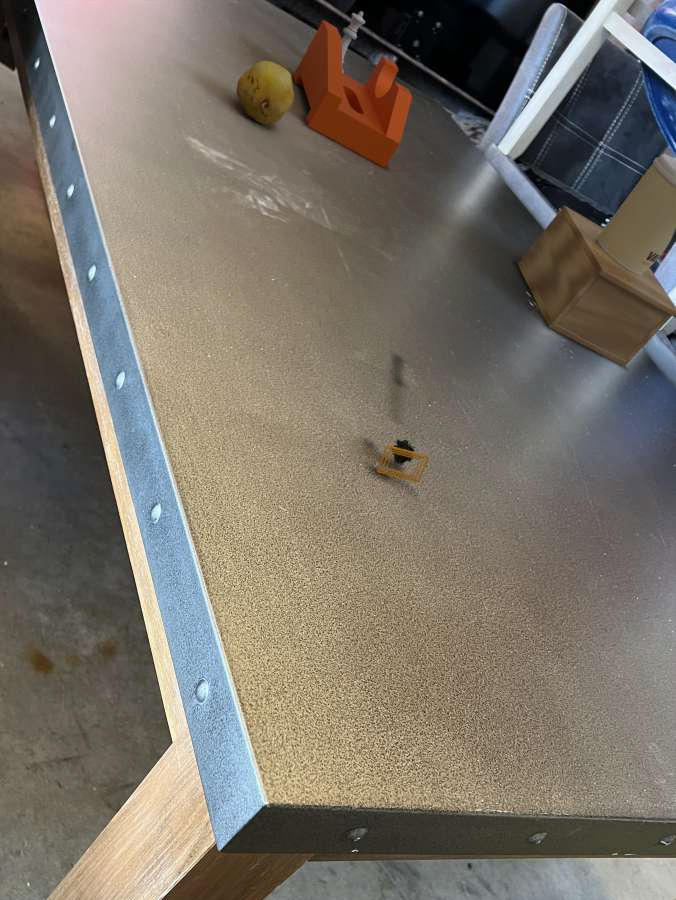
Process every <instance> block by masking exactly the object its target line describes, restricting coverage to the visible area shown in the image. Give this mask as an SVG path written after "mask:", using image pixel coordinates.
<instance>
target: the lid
mask: <svg viewBox="0 0 676 900" xmlns="http://www.w3.org/2000/svg"><path fill="white" fill-rule="evenodd" d="M560 211H561V212H562V214H563V215H564V217H565V219H566V220H567V222H568V224H569V225H570V227H571V229H572V231H573V232H574V234H575V236H576V237H577V239H578V241H579V242H580V244H581V246H582V247H583V249H584V251H585V252H586V254H587V256H588V258H589V259H590V261H591V263H592V264H593V266H594V268H595V269H596V271H597V273H598V274H599V275H600V276H602V277H604V278H605V279H607V280H609V281H611V282H612V283H614V284H616V285H618V286H620V287H621V288H623V289H625V290H627V291H628V292H630V293H632V294H634V295H635V296H637V297H639V298H641V299H643V300H644V301H646V302H648V303H650V304H651V305H653V306H655V307H657V308H659V309H660V310H662V311H664V312H666V313H667V314H669V315H671V316H672V317H673V318H674V319H676V305H675V303H674V302H673V300H672V299H671V297H670V296H669V294H668V293H667V291H666V290H665V289H664V287H663V285H662V284H661V282H660V281H659V280H658V278H657V276H656V275H655V273H654V272H653V271H652V269H651V267H649V268H648V269H647V270H646V271H645V272H644V273H643V274H641V275H639V274H635V273H633V272H631V271H629V270H628V269H626V268H624V267H623V266H622V265H620V264H619V263H617V262H616V261H615V260H614V259H612V258H611V257H610V256H609V255H608V254H607V253H606V252H605V251H604V250H603V249H602V248H601V246H600V245H599V243H598V241H597V238H598V237H599V235H600V234H601V232H602V231H603V229H604V228H605V227H602V226H600V225H599V224H597V223H596V222H593V221H592V220H590V219H588V218H587V217H585V216H583V215H582V214H580V213H579V212H577V211H574V210H573V209H571V208H569V207H568V206H566V205H563V206H562V208H560Z"/></svg>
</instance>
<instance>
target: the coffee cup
mask: <svg viewBox="0 0 676 900" xmlns="http://www.w3.org/2000/svg"><path fill="white" fill-rule="evenodd" d="M603 228H604V229H603V231H602V232H601V234H600V235H599V237H598V238H597V241H598V243H599V245H600V246H601V248H602V249H603V250H604V251H605V252H606V253H607V254H608V255H609V256H610V257H611V258H612V259H614V260H615V261H616V262H617V263H619V264H620V265H622V266H623V267H624V268H626V269H628V270H629V271H631V272H633V273H635V274H639V275H641V274H643V273H644V272H645V271H646V270H647V269H648V268H651V267H652V266H653V265H654V264H655V263H656V262H657V261H658V260H659V259H660V258H661V257H662V256H663V255H664V254H665V253H666V252H667V251H668V250H669V249H670V248H671V247H672V246H673V245H674V244H675V243H676V159H675V158H674V157H672V156H670V155H668V154H665V153H662V154H660V155H659V157H658V156H657V157H655V158H654V160H653V161H652V164H651V165H650V166H649V167H648V169H647V170H646V172H645V173H644V174H643V176H641V178H640V180H639V181H638V182H637V183H636V184H635V186H634V188H633V189H632V190H631V191H630V193H629V194H628V196H627V197H626V198H625V200H624V201H623V202H622V204H621V205H620V206H619V207H618V208H617V210H616V212H615V213H614V215H613V216H612V217H611V218H610V220H609V221H608V223H606V225H605V226H604V227H603Z"/></svg>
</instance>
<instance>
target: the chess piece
mask: <svg viewBox="0 0 676 900" xmlns="http://www.w3.org/2000/svg"><path fill="white" fill-rule="evenodd" d="M363 16H364V12H363V10H361V11H359V12H358V13H357V14H356V13H355V12H352V13H351V22H350V24H349V25H348V26H347V27H343V29H342V32H343V33H344V35H343V37H341V39H342V73H344V68H343V65H344V64H345V60H344V59H345V55H346V52H347V50H348V48H349V46H350V43H351V41H352V40H356V39H357V38H358V35H357V32H358V29H359V28H360V27H361V26H363V25H365V24H366V21H365V19H364V18H363Z"/></svg>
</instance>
